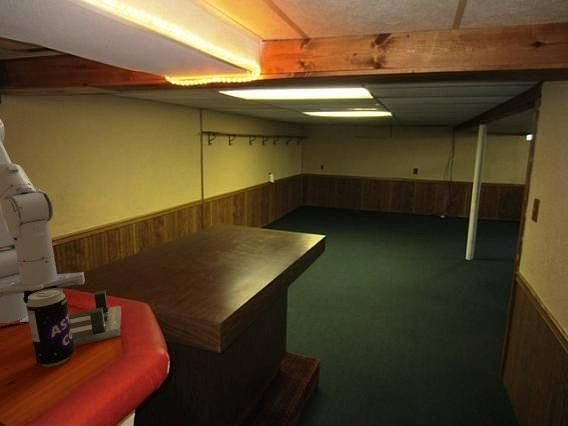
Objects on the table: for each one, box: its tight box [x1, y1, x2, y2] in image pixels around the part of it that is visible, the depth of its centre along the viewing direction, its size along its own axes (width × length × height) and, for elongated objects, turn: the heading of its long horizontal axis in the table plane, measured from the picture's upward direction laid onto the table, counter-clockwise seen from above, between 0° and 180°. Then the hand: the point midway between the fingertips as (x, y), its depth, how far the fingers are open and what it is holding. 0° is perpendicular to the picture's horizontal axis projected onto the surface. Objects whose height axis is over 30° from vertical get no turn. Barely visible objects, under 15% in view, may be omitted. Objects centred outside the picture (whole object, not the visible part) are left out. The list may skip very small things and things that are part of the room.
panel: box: [33, 289, 122, 353], centre depth 74 cm, size 13×14×6 cm
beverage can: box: [26, 288, 75, 368], centre depth 63 cm, size 6×6×12 cm
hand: (47, 325), depth 72 cm, fingers closed
